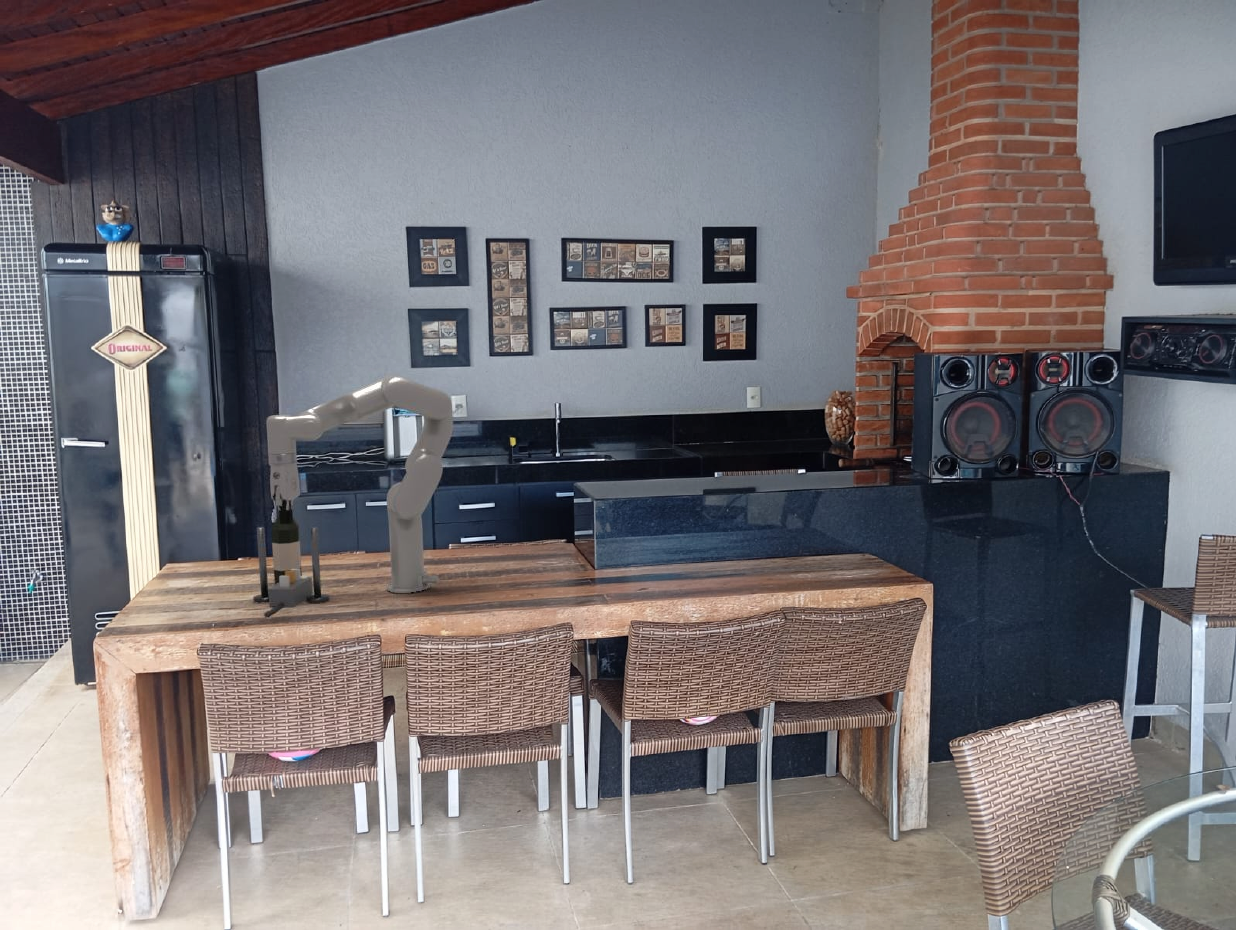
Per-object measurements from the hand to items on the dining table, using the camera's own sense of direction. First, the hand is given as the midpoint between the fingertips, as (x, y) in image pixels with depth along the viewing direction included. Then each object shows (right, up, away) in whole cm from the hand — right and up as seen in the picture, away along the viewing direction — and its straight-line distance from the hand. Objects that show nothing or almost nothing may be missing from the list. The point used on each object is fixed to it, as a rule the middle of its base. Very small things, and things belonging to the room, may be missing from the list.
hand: (286, 523), depth 304 cm
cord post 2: (+8, -22, +2) cm, 24 cm away
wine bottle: (-7, -19, +26) cm, 33 cm away
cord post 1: (-7, -22, +4) cm, 24 cm away
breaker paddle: (0, -17, +2) cm, 17 cm away
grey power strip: (0, -23, -2) cm, 23 cm away
